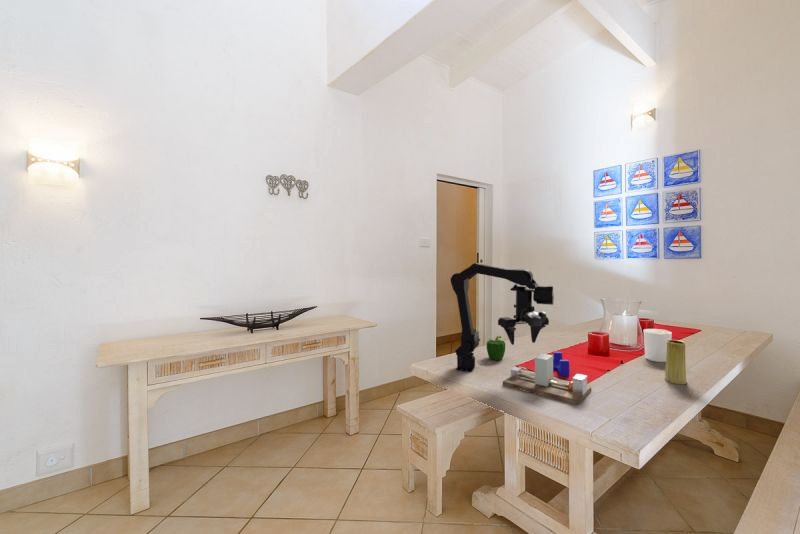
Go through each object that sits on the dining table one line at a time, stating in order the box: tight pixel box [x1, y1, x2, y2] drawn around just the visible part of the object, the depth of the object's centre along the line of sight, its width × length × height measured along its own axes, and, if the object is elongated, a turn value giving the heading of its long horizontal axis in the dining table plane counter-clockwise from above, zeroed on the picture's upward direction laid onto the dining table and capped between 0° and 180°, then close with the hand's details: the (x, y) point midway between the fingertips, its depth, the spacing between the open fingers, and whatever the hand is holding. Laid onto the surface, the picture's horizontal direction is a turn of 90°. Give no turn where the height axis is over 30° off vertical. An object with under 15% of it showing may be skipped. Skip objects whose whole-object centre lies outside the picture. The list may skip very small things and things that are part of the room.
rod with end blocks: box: [510, 366, 588, 396], centre depth 121 cm, size 24×5×6 cm, turn 47°
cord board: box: [502, 370, 592, 406], centre depth 121 cm, size 25×14×2 cm, turn 47°
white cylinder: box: [642, 328, 673, 363], centre depth 148 cm, size 10×10×12 cm
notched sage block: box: [534, 353, 554, 386], centre depth 121 cm, size 4×6×9 cm, turn 137°
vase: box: [664, 339, 687, 385], centre depth 123 cm, size 6×6×14 cm
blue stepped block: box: [552, 351, 570, 377], centre depth 138 cm, size 12×4×6 cm, turn 168°
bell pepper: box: [486, 335, 506, 361], centre depth 155 cm, size 8×8×10 cm
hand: (523, 343), depth 132 cm, fingers open, 9 cm apart
